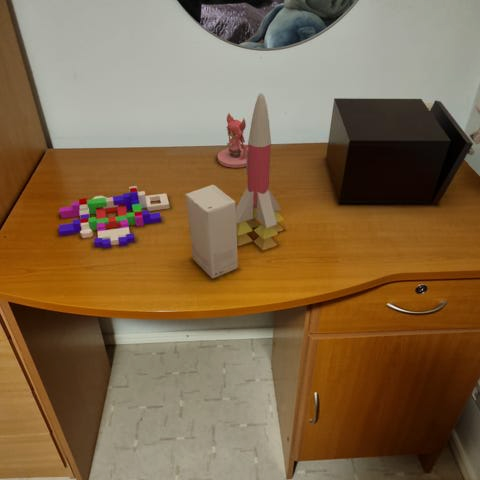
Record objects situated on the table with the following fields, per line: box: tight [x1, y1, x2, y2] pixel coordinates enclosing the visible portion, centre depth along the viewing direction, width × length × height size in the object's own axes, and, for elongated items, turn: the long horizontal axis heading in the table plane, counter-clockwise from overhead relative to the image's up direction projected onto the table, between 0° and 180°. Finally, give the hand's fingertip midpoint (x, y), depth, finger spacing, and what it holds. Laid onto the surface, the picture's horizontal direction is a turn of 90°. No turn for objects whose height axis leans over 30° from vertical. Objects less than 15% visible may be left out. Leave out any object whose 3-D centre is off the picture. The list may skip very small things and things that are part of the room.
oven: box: [325, 97, 451, 206], centre depth 118 cm, size 22×24×16 cm
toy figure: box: [217, 113, 248, 169], centre depth 128 cm, size 10×10×12 cm
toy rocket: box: [236, 92, 285, 251], centre depth 96 cm, size 12×12×30 cm
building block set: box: [58, 185, 171, 249], centre depth 109 cm, size 25×20×4 cm
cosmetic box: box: [185, 184, 239, 279], centre depth 94 cm, size 8×7×16 cm
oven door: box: [430, 99, 475, 206], centre depth 119 cm, size 5×24×16 cm, turn 0°
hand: (472, 140), depth 116 cm, fingers closed
